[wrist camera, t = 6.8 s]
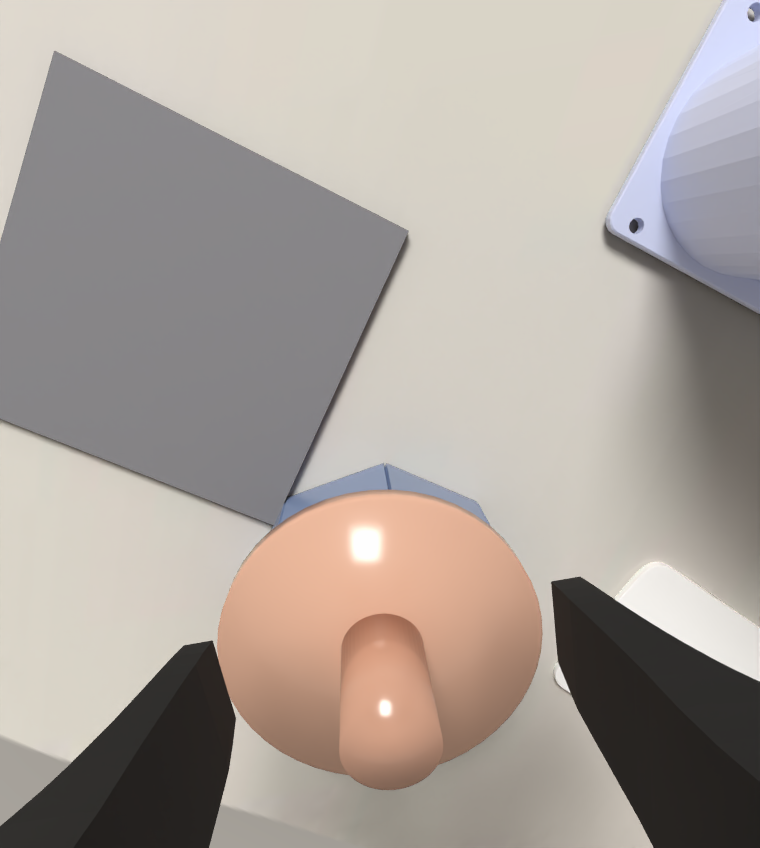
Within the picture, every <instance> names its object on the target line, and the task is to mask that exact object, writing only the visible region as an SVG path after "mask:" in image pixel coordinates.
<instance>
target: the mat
mask: <svg viewBox="0 0 760 848" xmlns="http://www.w3.org/2000/svg"><path fill="white" fill-rule="evenodd" d="M408 232H409V231H408V230H406V229H404V228H402V227H400V226H398V225H396V224H394V223H392V222H390V221H388V220H386V219H384V218H382V217H381V216H379V215H377V214H375V213H373V212H371V211H369V210H367V209H365V208H363V207H361V206H359V205H357V204H355V203H353V202H351V201H349V200H347V199H345V198H343V197H341V196H339V195H337V194H335V193H333V192H331V191H329V190H327V189H326V188H324V187H322V186H320V185H318V184H316V183H314V182H312V181H310V180H308V179H306V178H304V177H302V176H300V175H298V174H296V173H294V172H292V171H290V170H288V169H286V168H284V167H282V166H280V165H278V164H276V163H274V162H272V161H270V160H269V159H267V158H265V157H263V156H261V155H259V154H257V153H255V152H253V151H251V150H249V149H247V148H245V147H243V146H241V145H239V144H237V143H235V142H233V141H231V140H229V139H227V138H225V137H223V136H221V135H219V134H217V133H215V132H214V131H212V130H210V129H208V128H206V127H204V126H202V125H200V124H198V123H196V122H194V121H192V120H190V119H188V118H186V117H184V116H182V115H180V114H178V113H176V112H174V111H172V110H170V109H168V108H166V107H164V106H162V105H160V104H159V103H157V102H155V101H153V100H151V99H149V98H147V97H145V96H143V95H141V94H139V93H137V92H135V91H133V90H131V89H129V88H127V87H125V86H123V85H121V84H119V83H117V82H115V81H113V80H111V79H109V78H107V77H105V76H104V75H102V74H100V73H98V72H96V71H94V70H92V69H90V68H88V67H86V66H84V65H82V64H80V63H78V62H76V61H74V60H72V59H70V58H68V57H66V56H64V55H62V54H60V53H58V52H56V51H54V53H53V57H52V61H51V64H50V68H49V71H48V75H47V78H46V82H45V85H44V89H43V92H42V96H41V100H40V103H39V107H38V110H37V114H36V117H35V121H34V124H33V128H32V131H31V135H30V139H29V142H28V146H27V149H26V153H25V156H24V160H23V163H22V167H21V170H20V174H19V178H18V181H17V185H16V188H15V192H14V195H13V199H12V202H11V206H10V209H9V213H8V217H7V220H6V224H5V227H4V231H3V234H2V238H1V241H0V419H2V420H4V421H7V422H9V423H12V424H15V425H17V426H20V427H22V428H25V429H27V430H30V431H33V432H35V433H38V434H40V435H43V436H45V437H48V438H51V439H53V440H56V441H58V442H61V443H63V444H66V445H68V446H71V447H74V448H76V449H79V450H81V451H84V452H86V453H89V454H92V455H94V456H97V457H99V458H102V459H104V460H107V461H109V462H112V463H115V464H117V465H120V466H122V467H125V468H127V469H130V470H133V471H135V472H138V473H140V474H143V475H145V476H148V477H151V478H153V479H156V480H158V481H161V482H163V483H166V484H168V485H171V486H174V487H176V488H179V489H181V490H184V491H186V492H189V493H192V494H194V495H197V496H199V497H202V498H204V499H207V500H209V501H212V502H215V503H217V504H220V505H222V506H225V507H227V508H230V509H233V510H235V511H238V512H240V513H243V514H245V515H248V516H251V517H253V518H256V519H258V520H261V521H263V522H266V523H268V524H271V525H274V524H275V522H276V520H277V517H278V515H279V513H280V511H281V509H282V507H283V504H284V502H285V500H286V498H287V496H288V493H289V491H290V489H291V487H292V485H293V483H294V480H295V478H296V476H297V474H298V472H299V469H300V467H301V465H302V463H303V461H304V459H305V456H306V454H307V452H308V450H309V448H310V445H311V443H312V441H313V439H314V437H315V434H316V432H317V430H318V428H319V426H320V424H321V421H322V419H323V417H324V415H325V413H326V410H327V408H328V406H329V404H330V402H331V400H332V397H333V395H334V393H335V391H336V389H337V386H338V384H339V382H340V380H341V378H342V376H343V373H344V371H345V369H346V367H347V365H348V362H349V360H350V358H351V356H352V354H353V352H354V349H355V347H356V345H357V343H358V341H359V338H360V336H361V334H362V332H363V330H364V328H365V325H366V323H367V321H368V319H369V317H370V314H371V312H372V310H373V308H374V306H375V304H376V301H377V299H378V297H379V295H380V293H381V290H382V288H383V286H384V284H385V282H386V280H387V277H388V275H389V273H390V271H391V269H392V266H393V264H394V262H395V260H396V258H397V256H398V253H399V251H400V249H401V247H402V245H403V242H404V240H405V238H406V236H407V234H408Z"/></svg>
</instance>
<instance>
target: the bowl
mask: <svg viewBox="0 0 760 848" xmlns="http://www.w3.org/2000/svg"><path fill="white" fill-rule="evenodd" d="M367 490H402V491H412V492H417V493H422V494H426V495H431V496H435V497H438V498H440V499H443V500H446V501H449V502H451V503H454V504H456V505H458V506H460V507H462V508H464V509H466V510H468V511H470V512H471V513H473V514H475V515H476V516H477V517H479V518H480V519H482V520H483V521H484V522H486V523H487V524H489V522H488V520H487V519H486V517H485V515H484V513H483V511H482V510H481V508H480V506H479V504H477V502H476V501H474V500H471V499H469V498H467V497H464V496H462V495H460V494H457V493H455V492H453V491H450V490H448V489H446V488H443V487H441V486H439V485H436V484H434V483H432V482H429V481H427V480H425V479H422V478H420V477H418V476H415V475H413V474H410V473H408V472H406V471H403V470H401V469H399V468H396V467H394V466H392V465H389V464H387V463H386V465H385V467H384V464H380V465H377V466H374V467H371V468H369V469H366V470H363V471H360V472H357V473H355V474H352V475H349V476H346V477H344V478H341V479H338V480H335V481H332V482H330V483H327V484H324V485H321V486H318V487H316V488H313V489H310V490H307V491H304V492H302V493H299V494H296V495H293V496H290V497H288V498H287V500H285V502H284V504H283V507H282V509H281V511H280V513H279V515H278V517H277V520H276V522H275V524H274V525H273V527H272V529H274V528H275V527H276V526H278V525H279V524H280V523H282V522H283V521H284V520H286V519H287V518H288V517H290V516H292V515H294V514H295V513H297V512H299V511H301V510H303V509H304V508H306V507H308V506H311V505H313V504H316V503H318V502H321V501H323V500H325V499H329V498H332V497H336V496H340V495H343V494H347V493H353V492H360V491H367ZM489 525H490V524H489ZM272 529H271V530H272Z"/></svg>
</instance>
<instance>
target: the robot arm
mask: <svg viewBox="0 0 760 848" xmlns="http://www.w3.org/2000/svg"><path fill="white" fill-rule="evenodd" d="M748 8H750V9H752V10H753V12H754V15H755V18H754V21H753V22H752V21H750V20H749V19H748V16H747V11H748ZM633 219H635V220H636V221H637V222H638V229H637V231H636V232H635V233H634V234H633V233H632V232H631V231H630V229H629V224H630V222H631V221H632V220H633ZM606 226H607V229H608V231H610V232H611V233H612V234H614V235H615V236H617V237H619V238H621V239H623V240H625V241H626V242H628V243H630V244H632V245H634V246H635V247H637V248H639V249H641V250H643V251H645V252H646V253H648V254H650V255H652V256H654V257H656V258H657V259H659V260H661V261H663V262H665V263H667V264H668V265H670V266H672V267H674V268H676V269H678V270H679V271H681V272H683V273H685V274H687V275H689V276H690V277H692V278H694V279H696V280H698V281H700V282H701V283H703V284H705V285H707V286H709V287H711V288H712V289H714V290H716V291H718V292H720V293H722V294H723V295H725V296H727V297H729V298H731V299H733V300H734V301H736V302H738V303H740V304H742V305H744V306H745V307H747V308H749V309H751V310H753V311H755V312H756V313H758V314H760V0H723V1H722V3H721V5H720V6H719V8H718V10H717V12H716V14H715V16H714V18H713V19H712V21H711V23H710V25H709V27H708V29H707V31H706V32H705V34H704V36H703V38H702V40H701V42H700V44H699V45H698V47H697V49H696V51H695V53H694V55H693V56H692V58H691V60H690V62H689V64H688V66H687V68H686V69H685V71H684V73H683V75H682V77H681V79H680V81H679V82H678V84H677V86H676V88H675V90H674V92H673V93H672V95H671V97H670V99H669V101H668V103H667V105H666V106H665V108H664V110H663V112H662V114H661V116H660V118H659V119H658V121H657V123H656V125H655V127H654V129H653V130H652V132H651V134H650V136H649V138H648V140H647V142H646V143H645V145H644V147H643V149H642V151H641V153H640V155H639V156H638V158H637V160H636V162H635V164H634V166H633V167H632V169H631V171H630V173H629V175H628V177H627V179H626V180H625V182H624V184H623V186H622V188H621V190H620V192H619V193H618V195H617V197H616V199H615V201H614V203H613V204H612V206H611V208H610V210H609V212H608V214H607V217H606ZM551 584H552V596H553V608H554V620H555V632H556V643H557V655H558V663H559V666H560V668H561V671H562V673H563V676H564V678H565V680H566V683H567V685H568V688H569V690H570V693H571V695H572V697H573V700H574V702H575V704H576V707H577V709H578V711H579V713H580V714H581V716H582V718H583V720H584V722H585V724H586V725H587V727H588V729H589V731H590V733H591V734H592V736H593V738H594V740H595V742H596V743H597V745H598V747H599V749H600V751H601V752H602V754H603V756H604V758H605V759H606V761H607V763H608V765H609V767H610V768H611V770H612V772H613V774H614V775H615V777H616V779H617V781H618V783H619V784H620V786H621V788H622V790H623V791H624V793H625V795H626V797H627V799H628V800H629V802H630V804H631V806H632V807H633V809H634V811H635V813H636V815H637V816H638V818H639V820H640V822H641V824H642V826H643V828H644V830H645V832H646V834H647V836H648V838H649V839H650V841H651V843H652V845H653V847H654V848H760V681H758V680H755V679H753V678H751V677H749V676H747V675H745V674H743V673H741V672H738V671H736V670H734V669H732V668H730V667H728V666H726V665H724V664H722V663H720V662H718V661H717V660H715V659H713V658H711V657H709V656H707V655H706V654H704V653H702V652H700V651H698V650H697V649H695V648H693V647H691V646H689V645H687V644H686V643H684V642H682V641H680V640H679V639H677V638H675V637H674V636H672V635H670V634H668V633H667V632H665V631H663V630H662V629H660V628H659V627H657V626H655V625H654V624H652V623H650V622H649V621H647V620H646V619H644V618H642V617H641V616H639V615H638V614H636V613H635V612H633V611H632V610H630V609H628V608H627V607H625V606H624V605H622V604H621V603H619V602H618V601H616V600H615V599H613V598H612V597H610V596H609V595H607V594H606V593H604V592H603V591H601V590H600V589H598V588H597V587H595V586H594V585H592V584H591V583H589V582H588V581H586V580H584V579H583V578H581V577H575V578H570V579H564V580H558V581H552V582H551ZM235 721H236V717H235V714H234V711H233V707H232V704H231V701H230V697H229V694H228V691H227V687H226V684H225V681H224V677H223V674H222V671H221V667H220V664H219V661H218V657H217V654H216V651H215V647H214V644H213V641H207V642H201V643H196V644H190V645H184V646H183V647H182V648H181V649H180V650H179V651H178V652H177V653H176V654H175V655H174V656H173V657H172V658H171V659H170V660H169V661H168V662H167V663H166V665H165V666H164V667H163V668H162V669H161V670H160V671H159V672H158V673H157V674H156V675H155V677H154V678H153V679H152V680H151V681H150V682H149V683H148V684H147V685H146V686H145V688H144V689H143V690H142V691H141V692H140V693H139V694H138V695H137V696H136V697H135V698H134V699H133V700H132V701H131V703H130V704H129V705H128V706H127V707H126V708H125V709H124V710H123V711H122V712H121V713H120V714H119V715H118V717H117V718H116V719H115V720H114V721H113V722H112V723H111V724H110V725H109V726H108V727H107V728H106V729H105V730H104V731H103V732H102V733H101V734H100V735H99V736H98V737H97V738H96V739H95V740H94V741H93V742H92V743H91V744H90V745H89V746H88V747H87V748H86V749H85V750H84V751H83V752H82V753H81V754H80V755H79V756H78V757H77V758H76V759H75V760H74V761H73V762H72V763H71V764H70V765H69V766H68V767H67V768H66V769H65V770H64V771H63V772H61V773H60V774H59V775H58V777H56V778H55V779H54V780H53V781H52V782H51V783H50V784H48V785H47V786H46V787H45V788H44V789H43V790H42V791H41V792H40V793H38V795H36V796H35V797H34V798H33V799H32V800H30V801H29V802H28V803H27V804H26V805H25V806H23V808H22V809H20V810H19V811H18V812H17V813H15V814H14V815H13V816H12V817H11V818H10V819H8V820H7V821H6V822H5V823H4V824H2V825H1V826H0V848H209V845H210V841H211V838H212V834H213V830H214V826H215V822H216V818H217V814H218V811H219V807H220V803H221V799H222V795H223V791H224V787H225V784H226V779H227V775H228V771H229V766H230V759H231V752H232V745H233V737H234V729H235Z"/></svg>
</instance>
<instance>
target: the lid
mask: <svg viewBox="0 0 760 848" xmlns="http://www.w3.org/2000/svg"><path fill="white" fill-rule="evenodd" d="M541 644H542V618H541V612H540V607H539V603H538V598H537V596H536V593H535V590H534V588H533V585H532V583H531V580H530V579H529V577H528V575H527V573H526V572H525V570H524V568H523V566H522V565H521V563H520V561H519V559H518V558H517V556H516V554H515V553H514V551H513V550H512V549H511V548H510V546H509V545H508V544H507V542H506V541H505V540H504V539H503V538H502V537H501V536H500V535H499V534H498V533H497V532H496V531H495V530H494V529H493V528H492V527H491V526H490V525H489V524H487V523H486V522H484V521H483V520H482V519H480V518H479V517H477V516H476V515H475V514H473V513H471V512H470V511H468V510H466V509H464V508H462V507H460V506H458V505H456V504H454V503H451V502H449V501H446V500H443V499H440V498H438V497H435V496H431V495H426V494H422V493H417V492H412V491H402V490H367V491H360V492H353V493H347V494H343V495H340V496H336V497H332V498H329V499H325V500H323V501H321V502H318V503H316V504H313V505H311V506H308V507H306V508H304V509H303V510H301V511H299V512H297V513H295V514H294V515H292V516H290V517H288V518H287V519H286V520H284V521H283V522H282V523H280V524H279V525H278V526H276V527H275V528H274V529H272V530H271V531H270V532H269V533H268V534H267V535H266V536H265V537H264V538H263V539H262V540H261V541H260V542H259V543H258V544H257V545H256V546H255V547H254V548H253V550H252V551H251V552H250V553H249V555H248V556H247V557H246V559H245V560H244V561H243V563H242V565H241V567H240V568H239V570H238V572H237V574H236V576H235V577H234V580H233V582H232V585H231V588H230V590H229V593H228V595H227V598H226V601H225V604H224V606H223V609H222V613H221V618H220V623H219V627H218V642H217V650H218V660H219V664H220V667H221V671H222V674H223V677H224V681H225V684H226V687H227V691H228V694H229V696H230V698H231V700H232V702H233V703H234V705H235V707H236V708H237V710H238V712H239V713H240V715H241V716H242V717H243V718H244V720H245V721H246V722H247V723H248V724H249V725H250V727H251V728H252V729H253V730H254V731H255V732H256V733H257V734H259V735H260V736H261V737H262V738H263V739H264V740H265V741H266V742H268V743H269V744H271V745H272V746H274V747H275V748H276V749H278V750H279V751H281V752H282V753H284V754H286V755H288V756H290V757H292V758H294V759H296V760H297V761H300V762H302V763H305V764H308V765H310V766H313V767H315V768H319V769H322V770H326V771H330V772H334V773H340V774H346V775H350V776H351V777H352V778H353V779H354V780H356V781H357V782H359V783H361V784H363V785H365V786H368V787H371V788H374V789H380V790H396V789H402V788H405V787H409V786H411V785H414V784H416V783H418V782H420V781H421V780H423V779H425V778H426V777H427V776H428V775H430V774H431V772H432V771H433V770H434V769H435V768H436V766H437V765H439V764H442V763H444V762H447V761H449V760H451V759H453V758H455V757H457V756H459V755H461V754H463V753H465V752H467V751H469V750H470V749H472V748H473V747H475V746H476V745H478V744H479V743H481V742H482V741H484V740H485V739H486V738H487V737H489V736H490V735H491V734H492V733H493V732H495V731H496V730H497V729H498V728H499V727H500V726H501V725H502V724H503V723H504V722H505V721H506V720H507V719H508V718H509V717H510V715H511V714H512V713H513V711H514V710H515V709H516V707H517V706H518V705H519V703H520V702H521V700H522V699H523V697H524V695H525V693H526V692H527V690H528V688H529V686H530V684H531V682H532V679H533V677H534V674H535V672H536V669H537V665H538V661H539V657H540V653H541Z"/></svg>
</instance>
